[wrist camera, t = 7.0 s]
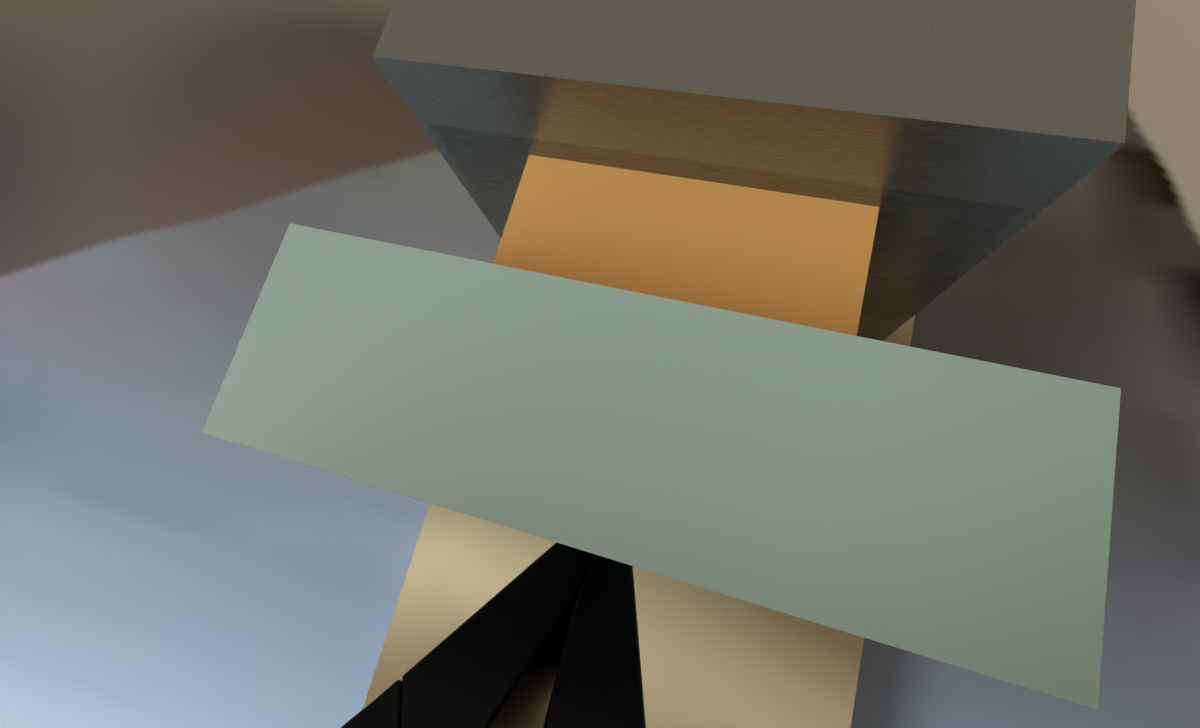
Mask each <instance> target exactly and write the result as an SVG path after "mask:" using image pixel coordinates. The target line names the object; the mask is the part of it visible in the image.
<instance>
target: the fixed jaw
mask: <svg viewBox="0 0 1200 728" xmlns="http://www.w3.org/2000/svg"><path fill="white" fill-rule="evenodd" d="M1135 6H1136V0H396V1H395V4H394V6H393V8H392V11H391V13H390V16H389V18H388V20H387V23H386V25H385V28H384V30H383V32H382V35H381V37H380V40H379V42H378V44H377V47H376V49H375V52H374V54H373V58H374V59H375V61H376V62H377V64H378V65H379V66H380V68H381V69H382V70H383V72H384V74H385V75H386V76H387V78H388V79H389V80H390V82H391V83H392V85H393V86H394V88H395V89H396V91H397V92H398V93H399V95H400V96H401V98H402V99H403V100H404V102H405V103H406V104H407V106H408V107H409V109H410V110H411V112H412V113H413V115H414V116H415V117H416V118H417V120H418V122H419V123H420V125H421V126H422V127H423V129H424V130H425V131H426V133H427V134H428V136H429V137H430V139H431V140H432V141H433V143H434V144H435V146H436V147H437V149H438V150H439V151H440V153H441V154H442V156H443V157H444V158H445V160H446V161H447V163H448V164H449V166H450V167H451V168H452V170H453V171H454V173H455V174H456V175H457V177H458V178H459V180H460V181H461V183H462V184H463V185H464V187H465V188H466V190H467V191H468V192H469V194H470V195H471V197H472V198H473V200H474V201H475V202H476V204H477V205H478V207H479V208H480V209H481V211H482V212H483V214H484V215H485V217H486V218H487V219H488V221H489V222H490V224H491V225H492V226H493V228H494V229H495V231H496V232H497V234H498V235H499V236H500V238H501V237H502V234H503V231H504V228H505V225H506V222H507V219H508V216H509V213H510V210H511V207H512V204H513V201H514V198H515V195H516V192H517V189H518V186H519V183H520V180H521V177H522V174H523V171H524V168H525V165H526V162H527V159H528V156H529V155H535V156H541V157H548V158H555V159H561V160H568V161H575V162H582V163H588V164H595V165H602V166H608V167H615V168H622V169H629V170H635V171H642V172H649V173H655V174H662V175H669V176H675V177H682V178H689V179H696V180H702V181H709V182H716V183H722V184H729V185H736V186H743V187H749V188H756V189H763V190H769V191H776V192H783V193H789V194H796V195H803V196H810V197H816V198H823V199H830V200H836V201H843V202H850V203H857V204H863V205H870V206H877V207H880V208H879V213H878V219H877V225H876V230H875V236H874V241H873V247H872V253H871V258H870V264H869V269H868V275H867V281H866V286H865V292H864V297H863V303H862V309H861V314H860V320H859V325H858V331H857V336H860V337H865V338H870V339H875V340H880V341H883V340H885V339H886V338H887V337H888V336H889V335H891V334H892V333H893V332H894V331H896V330H897V329H898V328H899V327H900V326H902V325H903V324H904V323H905V322H907V321H908V320H909V319H910V318H911V317H913V316H914V315H915V314H916V313H918V312H919V311H920V310H921V309H922V308H924V307H925V306H926V305H927V304H929V303H930V302H931V301H932V300H933V299H935V298H936V297H937V296H938V295H940V294H941V293H942V292H943V291H944V290H946V289H947V288H948V287H949V286H951V285H952V284H953V283H954V282H955V281H957V280H958V279H959V278H960V277H962V276H963V275H964V274H965V273H966V272H968V271H969V270H970V269H971V268H973V267H974V266H975V265H976V264H978V263H979V262H980V261H981V260H982V259H984V258H985V257H986V256H987V255H989V254H990V253H991V252H992V251H993V250H995V249H996V248H997V247H998V246H1000V245H1001V244H1002V243H1003V242H1004V241H1006V240H1007V239H1008V238H1009V237H1011V236H1012V235H1013V234H1014V233H1015V232H1017V231H1018V230H1019V229H1020V228H1022V227H1023V226H1024V225H1025V224H1026V223H1028V222H1029V221H1030V220H1031V219H1033V218H1034V217H1035V216H1036V215H1037V214H1039V213H1040V212H1041V211H1042V210H1044V209H1045V208H1046V207H1047V206H1048V205H1050V204H1051V203H1052V202H1053V201H1055V200H1056V199H1057V198H1058V197H1059V196H1061V195H1062V194H1063V193H1064V192H1066V191H1067V190H1068V189H1069V188H1070V187H1072V186H1073V185H1074V184H1075V183H1077V182H1078V181H1079V180H1080V179H1082V178H1083V177H1084V176H1085V175H1086V174H1088V173H1089V172H1090V171H1091V170H1093V169H1094V168H1095V167H1096V166H1097V165H1099V164H1100V163H1101V162H1102V161H1104V160H1105V159H1106V158H1107V157H1108V156H1110V155H1111V154H1112V153H1113V152H1115V151H1116V150H1117V149H1118V148H1119V147H1121V146H1122V145H1123V144H1124V143H1125V135H1126V122H1127V109H1128V96H1129V83H1130V69H1131V56H1132V45H1133V31H1134V18H1135Z"/></svg>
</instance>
